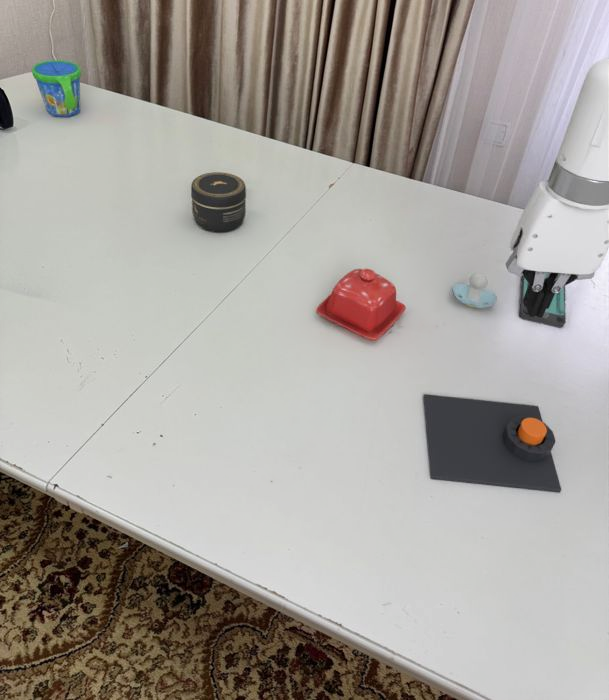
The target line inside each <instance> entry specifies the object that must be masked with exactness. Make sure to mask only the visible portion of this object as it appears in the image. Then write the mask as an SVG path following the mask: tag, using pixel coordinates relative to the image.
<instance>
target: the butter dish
mask: <svg viewBox="0 0 609 700" xmlns="http://www.w3.org/2000/svg"><path fill="white" fill-rule="evenodd" d="M406 309H407V308H406V305H405V304H404V303H403V302H401V301H399V300H397V288H396V286H395V285H394V283H392V282H391V281H390V280H388V279H387V278H385V277H383V276H381V275H380V274H377V273H376V272H375V271H374V270H373V269H370V268H355V269H353V270H351V271H349V272H348V273H346V274H345V275H344V276H343V277H341V278H340V279H339V280H338V281H337V283H336V284H335V286H334V287H333V289H332V290H331V293H330V294H329V295H328V296H327V297H326V298H325V299H324V300H323V301H322V302H321V303H320V304H318V306H317V307H316V309H315V311H316V313H317V314H318V315H319V316H320V317H323V318H324V319H327V320H329V321H330V322H333V323H335V324H336V325H339V326H341V327H343V328H345V329H347V330H349V331H351V332H353V333H354V334H357V335H359V336H361V337H363V338H365V339H368V340H371V341H377V340H378V339H380V338H381V337H382V336H383V335H384V334H385V333H386V332H387V331H388V330H389V329H390V328H391V327H392V326H393V325H394V324H395V322H396V321H398V319H399V318H400V317H401V316H402V315H403V314H404V312H405V311H406Z"/></svg>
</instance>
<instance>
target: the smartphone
mask: <svg viewBox="0 0 609 700" xmlns="http://www.w3.org/2000/svg"><path fill="white" fill-rule="evenodd" d="M548 273H549V272H546V274H545V279H546V277H547V275H548ZM528 285H529V283H528V281H527V280H526V279H525V278H524V276H522V275H521V278H520V292H519V293H520V294H519V309H518V310H519V311H518V317H519V318H520V319H521V320H525V321H529V322H533V323H538V324H541V323H543V324H542V325H547V326H550V327H555V328H559V329H563V328H564V326H565V324H566V322H567V321H566V301H567V300H566V298H567V297H566V286H564V287H563V288H562V290H561V291H560V292H559V293H555V295H554V297H553V300H552V302H551V304H550V307H549V308H548V309H546V310H545V313H544V315H543V317H542V318H539V317H537V316H534V317H529V314H528V311H527V309H526V307H524V305H523V298H524V296H525V293H526V290H527V288H528Z"/></svg>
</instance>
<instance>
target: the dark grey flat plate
mask: <svg viewBox="0 0 609 700" xmlns="http://www.w3.org/2000/svg"><path fill="white" fill-rule="evenodd" d="M422 400H423V412H424V423H425V432H426V444H427V455H428V465H429V475H430V480H437V481H443V482H444V481H445V482H454V483H455V482H456V483H463V484H473V485H483V486H491V487H492V486H493V487H502V488H509V489H510V488H512V489H522V490H530V491H531V490H532V491H541V492H549V493H557V494H559V493H561V492H562V486H561V483H560V480H559V476H558V473H557V469H556V464H555V462H554V458H553V454H552V450H553V448H554V446H555V444H556V438H555V434H554V431H553V430H552V429H551V428H550V427H549V426H548V425H547V424H546V423H545V422H544V421H543V418H542V414H541V412H540V407H539V406H538V405H531V404H522V403H512V402H505V401H504V402H502V401H493V400H483V399H473V398H464V397H457V396H456V397H455V396H447V395H437V394H436V395H435V394H427V393H425V394H423V396H422ZM526 418H535V419H538V420H540V421H541V422H542V423H544V425H545V426H546V428H547V433H546V435H545V437H544V439H543V441H542V442H541V443H540V444H538V445H529V444H527V443H525V442H523V441H522V440H521V439H520V438H519V436H518V429H519V427H520V425H521V423H522V421H523V420H524V419H526Z"/></svg>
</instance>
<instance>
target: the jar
mask: <svg viewBox="0 0 609 700" xmlns="http://www.w3.org/2000/svg"><path fill="white" fill-rule="evenodd" d="M190 197H191V205H192V206H191V207H192V209H191V210H192V216H193V218H194V221H195V223H196V225H197V226H199V227H200V228H201V229H202V230H205V231H207V232H210V233H217V234H219V233H223V234H224V233H230V232H232V231H235V230H237V229H238V228H240V227H241V225H242V224H243V223H244V220H245V217H246V199H247V187H246V183H245V181H244V180H243V179H242V178H241V177H239V176H237V175H235V174H232V173H230V172H220V171H219V172H218V171H217V172H216V171H215V172H206V173H202V174H200V175H198V176H197V177H195V178H194V179H193V180H192V182H191V186H190Z"/></svg>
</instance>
